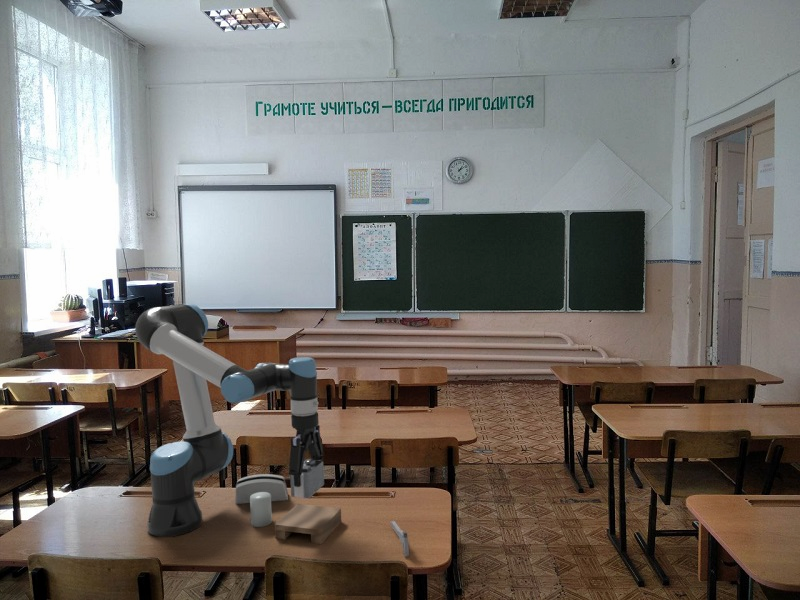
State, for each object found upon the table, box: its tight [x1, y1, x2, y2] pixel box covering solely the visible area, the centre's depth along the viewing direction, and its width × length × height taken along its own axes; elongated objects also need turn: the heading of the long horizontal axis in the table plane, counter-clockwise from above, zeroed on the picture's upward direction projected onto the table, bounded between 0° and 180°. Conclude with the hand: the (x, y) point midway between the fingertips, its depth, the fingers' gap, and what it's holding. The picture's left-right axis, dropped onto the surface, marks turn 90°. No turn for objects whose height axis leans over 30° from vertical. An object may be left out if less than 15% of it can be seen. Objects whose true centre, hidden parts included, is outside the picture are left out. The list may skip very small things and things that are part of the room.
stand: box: [274, 503, 342, 545], centre depth 171 cm, size 14×14×4 cm
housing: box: [289, 458, 325, 499], centre depth 170 cm, size 10×6×8 cm, turn 163°
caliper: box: [389, 520, 410, 558], centre depth 164 cm, size 20×1×6 cm, turn 12°
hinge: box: [234, 473, 289, 505], centre depth 192 cm, size 17×5×10 cm, turn 97°
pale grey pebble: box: [249, 492, 273, 528], centre depth 176 cm, size 6×6×8 cm
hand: (308, 489), depth 170 cm, fingers closed on housing, 10 cm apart
